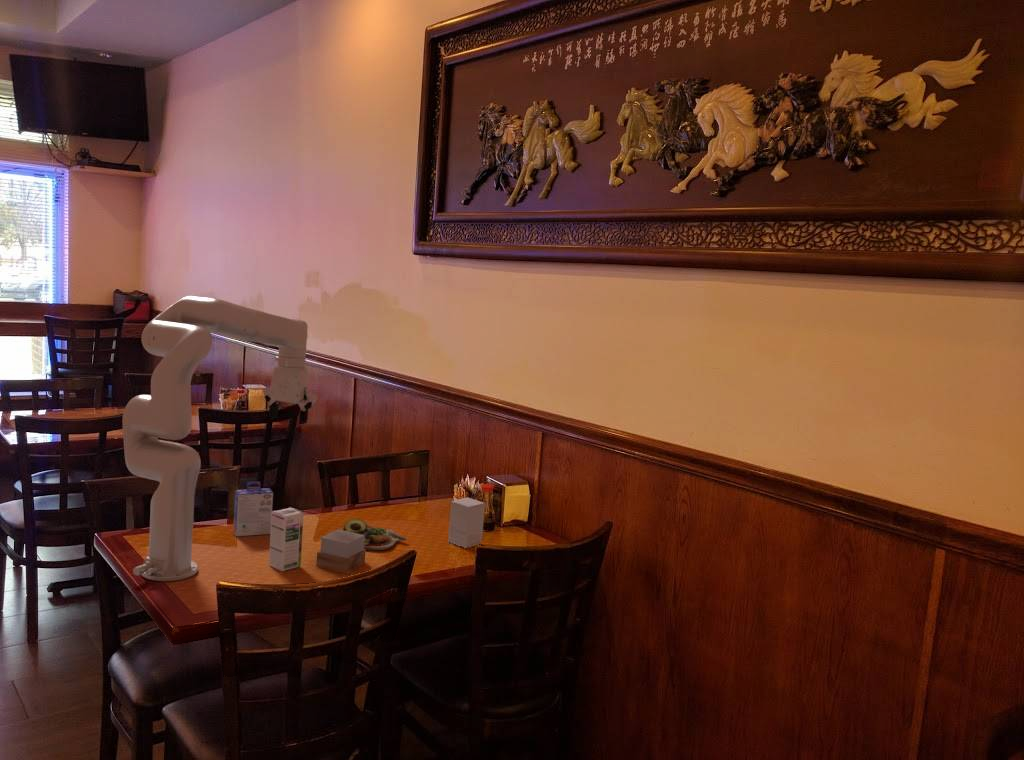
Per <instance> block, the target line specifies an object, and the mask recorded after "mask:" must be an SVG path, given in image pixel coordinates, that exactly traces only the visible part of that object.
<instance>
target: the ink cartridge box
mask: <svg viewBox="0 0 1024 760" xmlns="http://www.w3.org/2000/svg"><path fill="white" fill-rule="evenodd" d="M253 484H254V485H257V486H250V485H253ZM273 501H274V491H273V490H272V489H271V488H270V487H266V488H265V487H264V488H262V487H261V481H259V480H258V481H257V480H256V481H246V489H236V490H235V491H234V510H233V511H234V513H233V515H234V517H233V528H232V532H233V534H234V536H235V537H247V536H257V535H258V536H259V535H270V534H271V513H272V511H273V503H274V502H273Z"/></svg>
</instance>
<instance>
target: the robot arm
mask: <svg viewBox="0 0 1024 760" xmlns="http://www.w3.org/2000/svg"><path fill="white" fill-rule="evenodd" d="M212 334H215V335H219V336H223V337H228V338H232V339H235V340H240V341H245V342H252V343H261V344H262V345H265V346H271V347H277V348H278V356H275V357H274V361H275V362H277V365H275V366H274V370H273V371H272V377H271V383H270V386H267V387H265V388H263V389H262V393H263V395H264V400H265V401H266V402H267V405H268V406H269V413H268V415H269V420H276V419H278V417H279V405H278V403H279V402H281V403H286V404H298V406H299V408H300V409H301V410H299V413H298V424H299V425H304V424H307V421H308V420H309V419H308V418H309V417H308V416H309V410H311V408H312V407H313V406H314V405H315V403H316V402H317V400H318V396H317V394H315V393H313V392H312V391H311V390H309V378H308V377H309V376H308V370H307V368H306V357H307V343H308V342H307V340H308V323H307V322H306V321H304V320H301V319H294V318H293V319H292V318H287V317H283V316H279V315H276V314H272V313H268V312H265V311H262V310H258V309H254V308H251V307H247V306H243V305H240V304H236V303H232V302H229V301H226V300H223V299H221V298H220V299H219V298H213V297H205V296H198V295H197V296H196V295H187V296H184V297H182V298H180V299H178V300H177V301H175V302H173V303H171V304H170V306H168V307H167V308H165V309H164V310H163V311H161V312H160V313H159V314H158V315H156V316H155V317H153V319H152V320H150V321H149V322H147V324H146V325H145V327H144V329H143V331H142V333H141V344H142V346H143V349H144V350H145V351H146V352H147V353H149V354H150V355H153V356H156V357H161V358H162V359H161V361H160V362H159V363H158V364H157V366H156V367H155V368H154V370H153V372H152V373H151V379H150V394H139V395H135V396H134V397H132V398H131V399H130V400H129V401H128V402H127V404H126V405H125V408H124V411H123V413H122V435H123V436H122V437H123V450H124V451H123V452H124V460H125V465H126V468H127V469H128V471H129V472H130V473H131V474H132V475H134V476H137V477H140V478H143V479H147V480H152V481H156V482H159V485H158V487H157V489H156V490H155V491H154V493H153V494H152V497H151V499H150V508H149V509H150V513H149V514H150V515H149V516H150V517H149V540H148V556H147V557H145V562H143V563H142V564H141V565H138V566H136V567H133V570H132V573H133V574H134V575H135V576H139V575H141V576H142V577H143V578H145V579H147V580H151V581H154V582H155V581H156V582H175V581H180V580H185V579H188V578H190V577H193V576H194V575H195V574H196V573H197V572H198V569H199V565H198V564H197V563H196V562H195V561H193V560H192V552H193V531H194V514H195V513H194V509H195V494H196V488H197V487H196V486H197V481H198V477H199V473H200V470H201V457H200V455H199V453H198V451H197V450H196V449H194V448H193V447H191V446H189V445H187V444H184V443H180V442H179V443H178V442H175V441H176V440H177V441H178V440H182V439H184V438H186V437H187V436H188V435H189V434H190V432H191V429H192V423H193V421H192V419H193V418H192V417H193V416H192V412H193V411H192V393H191V391H192V390H191V389H192V388H191V387H192V386H191V384H192V383H191V382H192V379H193V374H194V373H195V371H196V369H197V368H198V366H199V365H200V364H201V363H202V362H203V361H204V359H205V358H206V357H207V356H208V354H209V353H210V351H211V350H212V347H213V336H212ZM308 399H309V401H308ZM158 438H159V439H158ZM163 439H165V440H163ZM167 440H168V441H167ZM169 440H173V441H169Z"/></svg>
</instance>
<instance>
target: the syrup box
mask: <svg viewBox="0 0 1024 760" xmlns="http://www.w3.org/2000/svg"><path fill="white" fill-rule="evenodd" d="M303 525H304V512H303V511H301V510H299V509H297V508H293V507H288V508H283V509H279V510H272V513H271V534H269V535H270V539H269V540H270V541H269V556H268V557H269V559H268V560H269V561H268V565H269V566H270V567H272V568H273V569H276V570H277V571H280V572H285V571H287V570H288V571H289V570H292V569H296V568H300V567H301V565H302V549H303V548H302V547H303V528H304V526H303Z"/></svg>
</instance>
